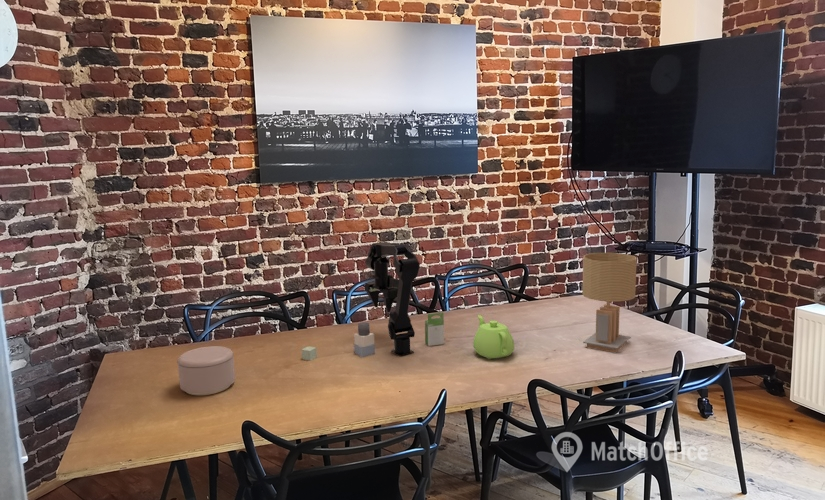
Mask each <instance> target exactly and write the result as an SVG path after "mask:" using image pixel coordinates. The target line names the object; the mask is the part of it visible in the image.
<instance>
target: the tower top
mask: <svg viewBox="0 0 825 500" xmlns="http://www.w3.org/2000/svg"><path fill="white" fill-rule="evenodd" d="M353 335H354V343H355V344H356V345H359V346H362V347H366V346H369V345H372V344H375V333H372V332H370V334H369V335H367V336H360V335H358V332H357V333H354V334H353Z"/></svg>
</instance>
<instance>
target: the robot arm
mask: <svg viewBox="0 0 825 500" xmlns="http://www.w3.org/2000/svg"><path fill="white" fill-rule="evenodd" d="M388 256H393V262H392V265H393V266H394V269H395V273H396V275H397V277H398V279H395V278H394V276H393V275H391V274H389V263H390V260H389V259H388V258H387V257H388ZM397 256H404V257H405V258H402V259H398V258H397ZM364 261H365V262H364V264H365V266H366V268H367V269H370V270H372V271H373V274H372V275H371V277H372V278H373V279H374V281H371V282H366V283H365V284H364V285H363V286H364V287H363V289H364V291H365V293H367V295H368V297H369V298H370V300H371V302H372V305H373V306H374V307H375V308H378V307H379V294H380V293H382V300H383V303H384V306H385V309H386V312H387V313H389V316H388V317H389V318H388V323H387V329H388V330H387V331H388V334H389V339H390V340H393V343H394V345H393V346H394V347H393V350H391V353H393V354H394V355H397V356H399V357H402V356H406V355H410V354H414V350H411V338H415V335H416V334H415V333H416V332H415V330H414V327H413V325H412V322H411V318H410V316H409V314H408V313H409V307H410V299H411V298H410V297H411V291H412V284H413V282H414V281H415V280H416V279H417V277H418V275H419V271H420V265H421V264H420V261H419V260H418V257H417V256H416V254H415V253H413V252H412V251H411V250H409V248H408V246H407V245H406V244H391V243H390V242H388V241H382V242H373V243H371V245H370V247H369V251H368V253H367V257H366V259H365V260H364ZM395 299H396V301H395ZM394 301H395V302H396V303H395V309H394V311H392V310H391V309H392V306H393V304H394Z"/></svg>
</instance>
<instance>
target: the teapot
mask: <svg viewBox="0 0 825 500" xmlns="http://www.w3.org/2000/svg"><path fill="white" fill-rule="evenodd" d="M477 317H478V321H479V323H478V325H479V326H478V329H477V331H476V332H475V335H474V339H473V342H472V343H473V348H474V350H475V352H476V353H477V354H478V355H480V356H482V357H484V358H486V359H487V360H493V359H498V358H506V357H509V356H510V355H511V354H512V353H514V350H515V343H514V338H513V336H512V334H511V332H510V329H509V328H508V326H506V325H505V324H504V323H500V322H499V321H497V320H490V321H489V322H487V323H485V319H484V318H483V316H482V315H481V314H477Z"/></svg>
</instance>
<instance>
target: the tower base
mask: <svg viewBox="0 0 825 500" xmlns="http://www.w3.org/2000/svg"><path fill="white" fill-rule="evenodd" d="M353 353H354V354H355V355H357V356H358V357H360V358H363V357H368V356H372V355H375V354H376V345H375V343H374V344H372V345H369V346H366V347H362V346H359V345H356V344H355V342H354V343H353Z"/></svg>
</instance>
